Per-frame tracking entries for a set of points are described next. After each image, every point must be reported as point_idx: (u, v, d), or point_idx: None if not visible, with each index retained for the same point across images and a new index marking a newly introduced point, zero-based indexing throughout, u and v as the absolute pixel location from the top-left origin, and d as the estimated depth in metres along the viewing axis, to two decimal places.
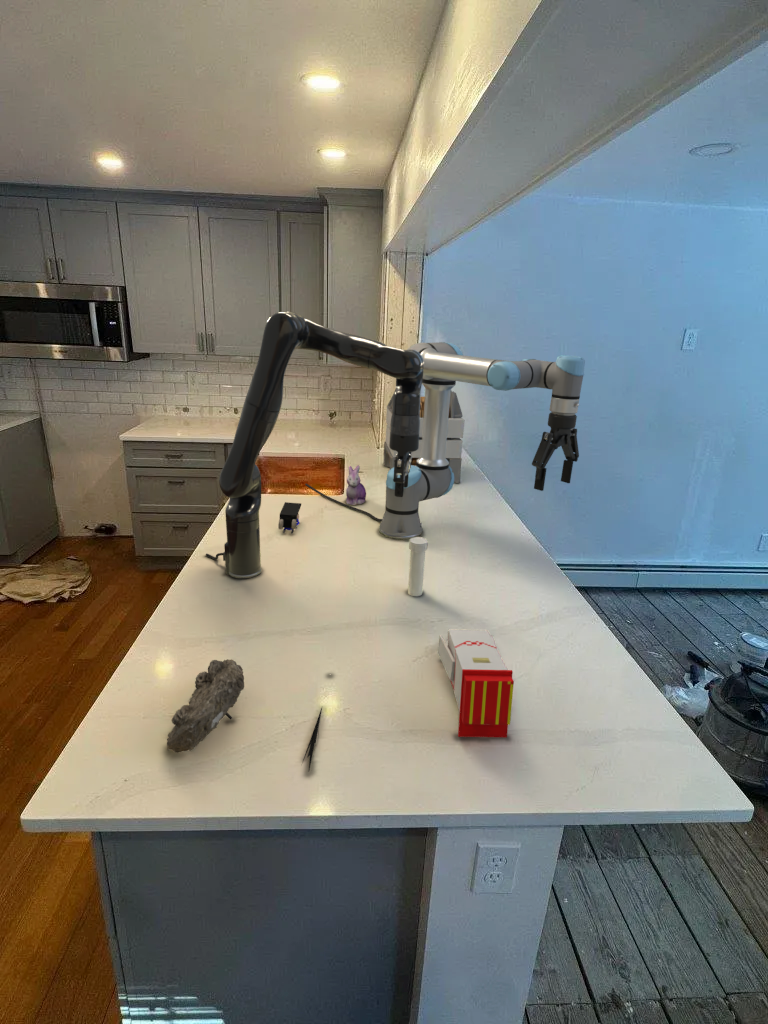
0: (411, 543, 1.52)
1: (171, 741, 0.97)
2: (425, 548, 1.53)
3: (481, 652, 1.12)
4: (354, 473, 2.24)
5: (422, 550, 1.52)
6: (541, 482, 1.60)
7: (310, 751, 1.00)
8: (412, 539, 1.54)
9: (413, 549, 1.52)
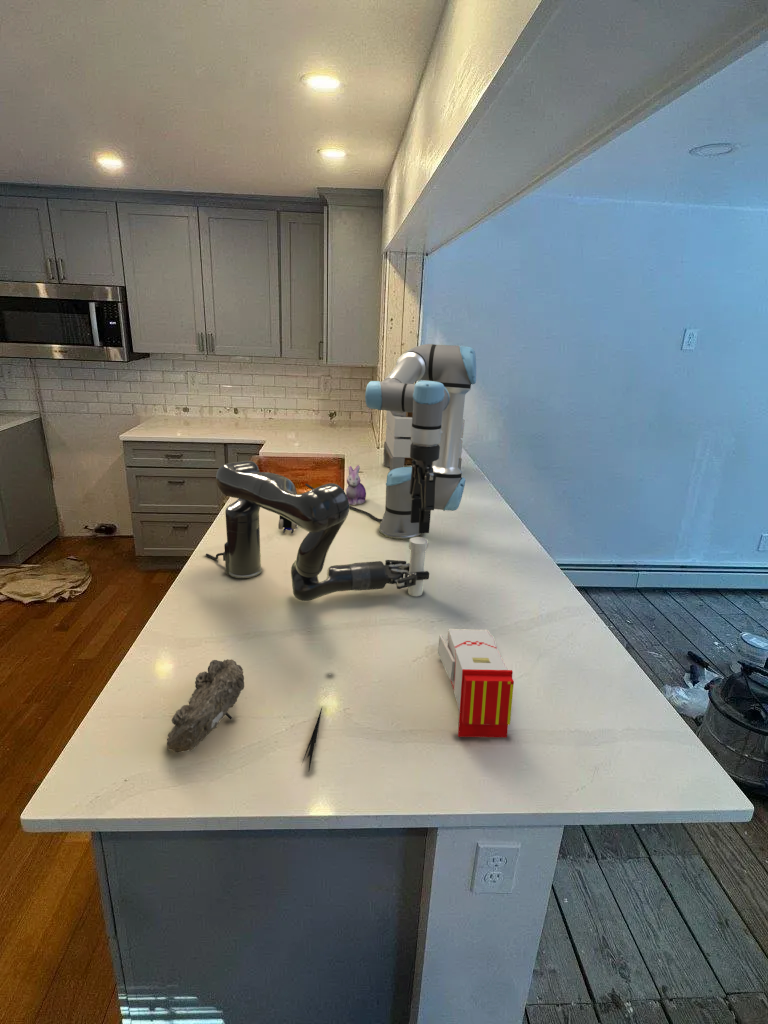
0: (411, 543, 1.52)
1: (171, 741, 0.97)
2: (425, 548, 1.53)
3: (481, 652, 1.12)
4: (354, 473, 2.24)
5: (422, 550, 1.52)
6: (427, 524, 1.48)
7: (310, 751, 1.00)
8: (412, 539, 1.54)
9: (413, 549, 1.52)
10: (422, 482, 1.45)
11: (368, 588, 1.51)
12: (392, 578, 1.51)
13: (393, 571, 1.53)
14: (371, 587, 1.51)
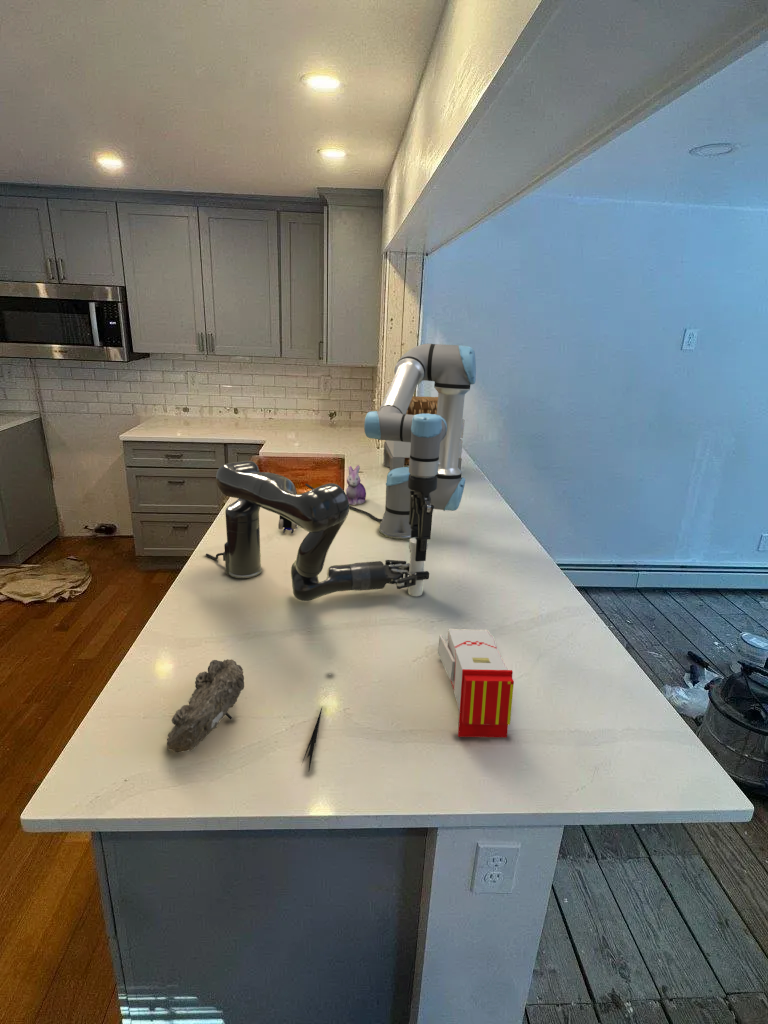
0: (411, 543, 1.52)
1: (171, 741, 0.97)
2: None
3: (481, 652, 1.12)
4: (354, 473, 2.24)
5: None
6: (424, 552, 1.52)
7: (310, 751, 1.00)
8: (412, 539, 1.54)
9: (413, 549, 1.52)
10: (419, 512, 1.48)
11: (368, 588, 1.51)
12: (392, 578, 1.51)
13: (393, 571, 1.53)
14: (371, 587, 1.51)
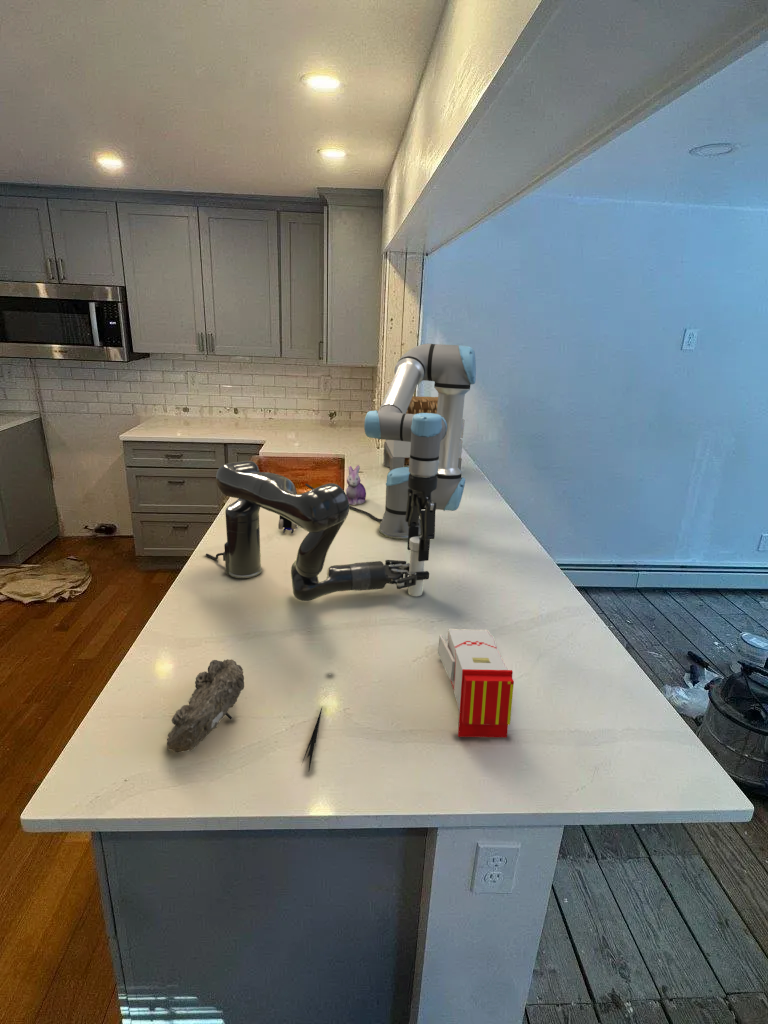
0: None
1: (171, 741, 0.97)
2: None
3: (481, 652, 1.12)
4: (354, 473, 2.24)
5: None
6: (427, 552, 1.51)
7: (310, 751, 1.00)
8: (415, 541, 1.52)
9: None
10: (421, 512, 1.47)
11: (368, 588, 1.51)
12: (392, 578, 1.51)
13: (393, 571, 1.53)
14: (371, 587, 1.51)
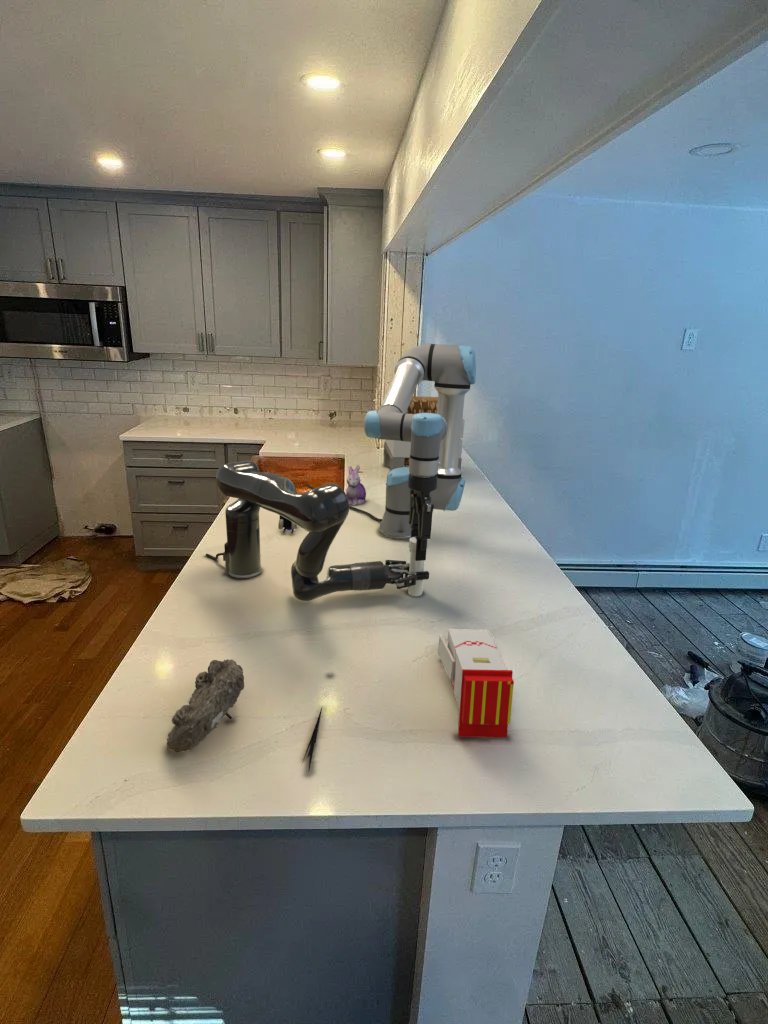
0: None
1: (171, 741, 0.97)
2: None
3: (481, 652, 1.12)
4: (354, 473, 2.24)
5: None
6: (424, 552, 1.52)
7: (310, 751, 1.00)
8: (415, 541, 1.52)
9: None
10: (420, 512, 1.48)
11: (368, 588, 1.51)
12: (392, 578, 1.51)
13: (393, 571, 1.53)
14: (371, 587, 1.51)
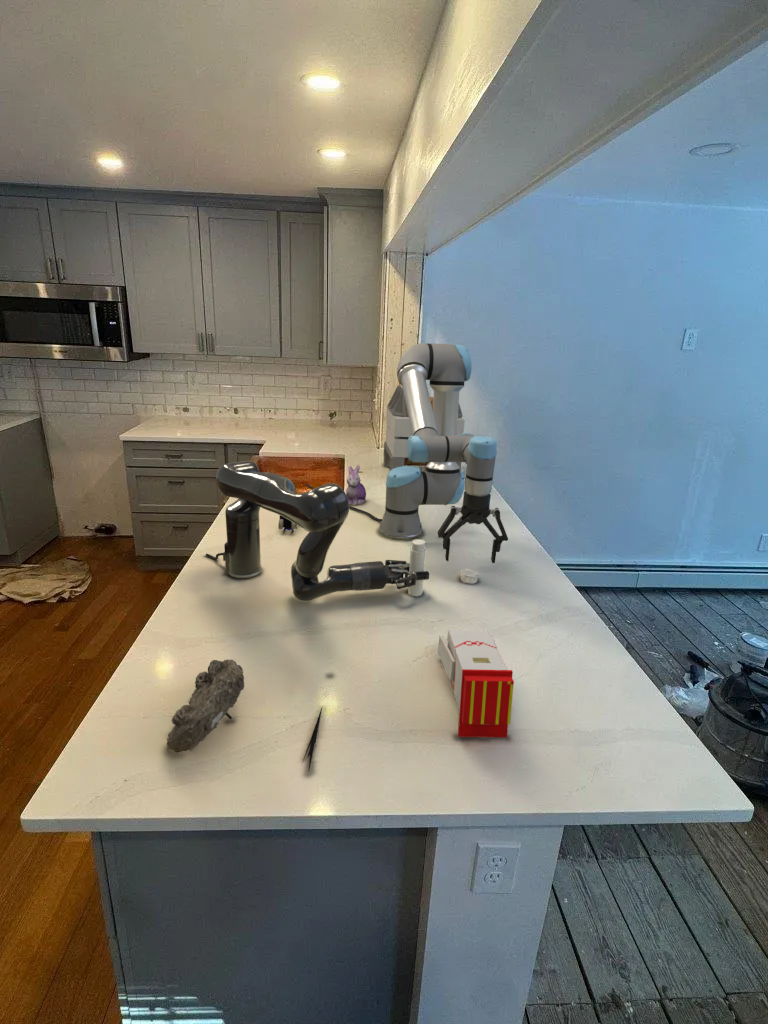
0: None
1: (171, 741, 0.97)
2: None
3: (481, 652, 1.12)
4: (354, 473, 2.24)
5: None
6: None
7: (310, 751, 1.00)
8: (474, 574, 1.66)
9: None
10: (488, 522, 1.61)
11: (368, 588, 1.51)
12: (392, 578, 1.51)
13: (393, 571, 1.53)
14: (371, 587, 1.51)
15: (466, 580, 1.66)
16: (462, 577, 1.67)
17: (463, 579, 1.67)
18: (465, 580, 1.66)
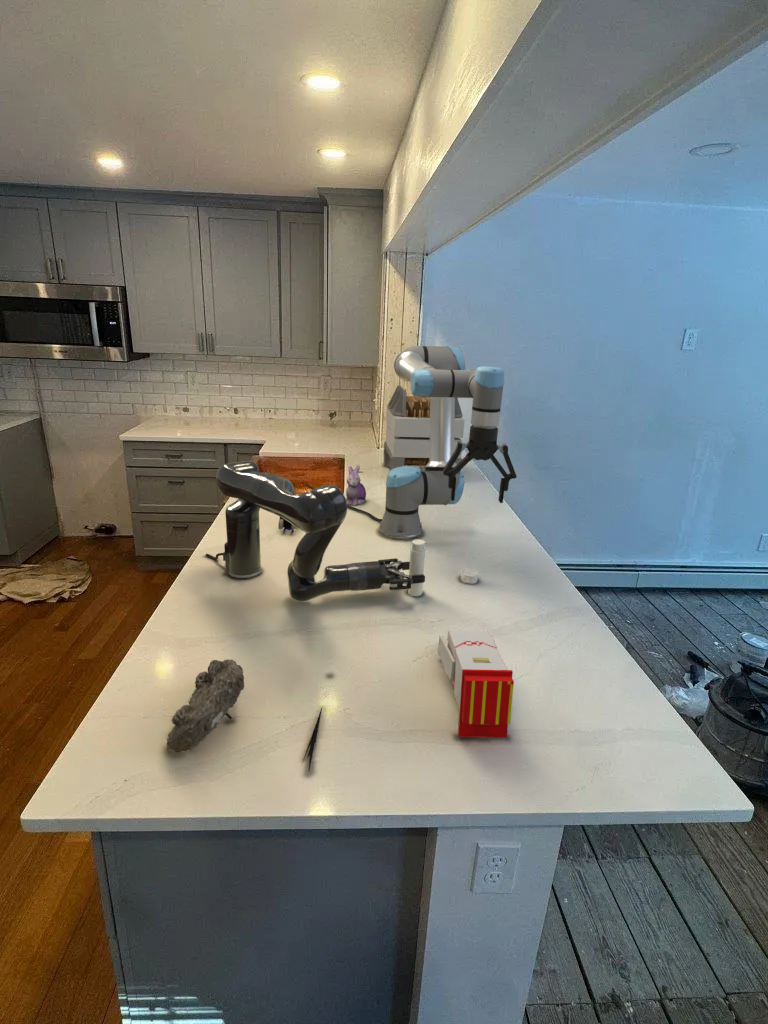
0: None
1: (171, 741, 0.97)
2: None
3: (481, 652, 1.12)
4: (354, 473, 2.24)
5: None
6: None
7: (310, 751, 1.00)
8: (474, 574, 1.66)
9: None
10: (495, 458, 1.55)
11: (365, 588, 1.51)
12: (389, 578, 1.51)
13: (389, 571, 1.53)
14: (368, 587, 1.51)
15: (466, 580, 1.66)
16: (462, 577, 1.67)
17: (463, 579, 1.67)
18: (465, 580, 1.66)
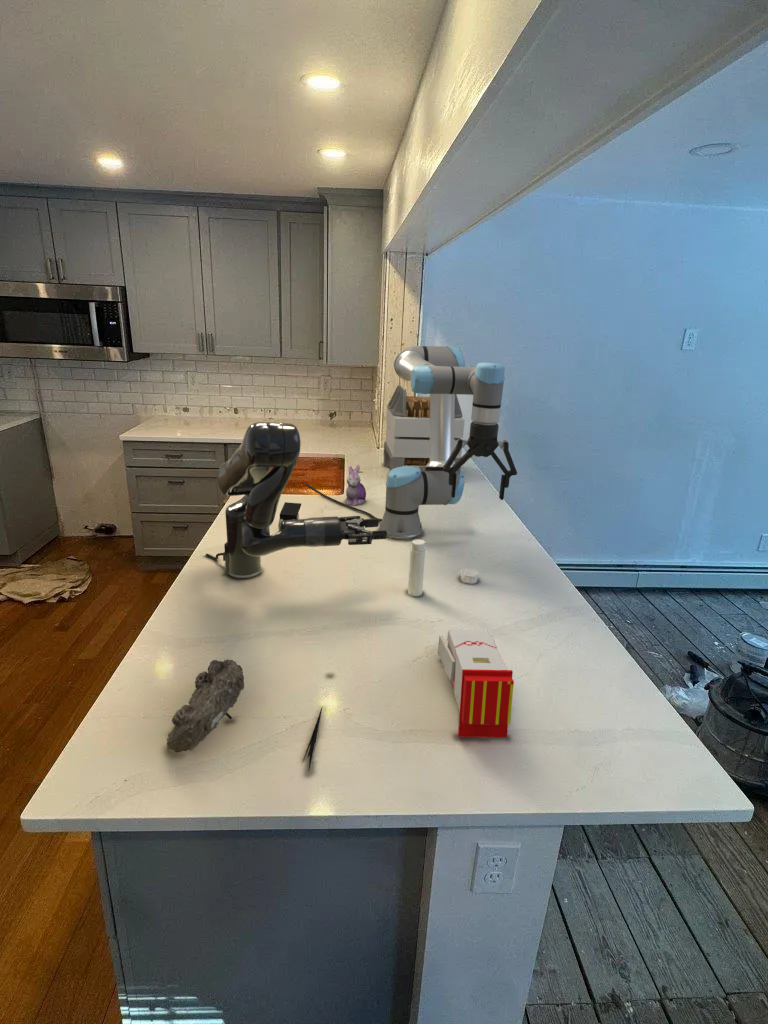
0: None
1: (171, 741, 0.97)
2: None
3: (481, 652, 1.12)
4: (354, 473, 2.24)
5: None
6: None
7: (310, 751, 1.00)
8: (474, 574, 1.66)
9: None
10: (496, 455, 1.54)
11: (323, 544, 1.43)
12: (348, 533, 1.43)
13: (349, 527, 1.45)
14: (326, 543, 1.43)
15: (466, 580, 1.66)
16: (462, 577, 1.67)
17: (463, 579, 1.67)
18: (465, 580, 1.66)
